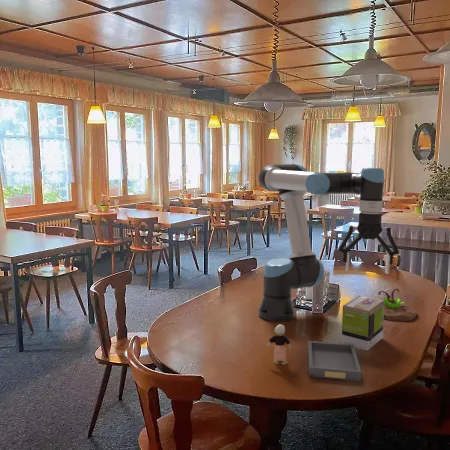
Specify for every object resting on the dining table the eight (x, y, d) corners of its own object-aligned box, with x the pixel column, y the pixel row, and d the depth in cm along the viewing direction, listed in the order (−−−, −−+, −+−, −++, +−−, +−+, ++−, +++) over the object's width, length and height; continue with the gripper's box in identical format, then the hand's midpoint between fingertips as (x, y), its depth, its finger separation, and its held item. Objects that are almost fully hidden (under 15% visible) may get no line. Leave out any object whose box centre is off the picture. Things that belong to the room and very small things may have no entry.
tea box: (357, 331, 171) (359, 294, 169) (383, 338, 165) (386, 300, 162) (340, 344, 159) (342, 304, 157) (367, 351, 153) (370, 310, 151)
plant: (419, 324, 181) (421, 297, 179) (368, 318, 186) (370, 292, 184) (412, 308, 200) (414, 284, 198) (366, 304, 205) (368, 280, 203)
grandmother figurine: (290, 360, 146) (291, 322, 144) (291, 365, 142) (292, 327, 140) (266, 359, 146) (267, 322, 144) (267, 364, 142) (268, 326, 141)
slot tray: (309, 377, 135) (309, 368, 134) (308, 349, 154) (308, 341, 154) (360, 382, 132) (361, 372, 132) (352, 352, 152) (353, 344, 152)
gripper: (334, 212, 153) (331, 272, 156) (410, 215, 149) (406, 276, 152) (332, 210, 161) (330, 267, 164) (405, 212, 157) (401, 271, 160)
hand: (366, 272), depth 158 cm, fingers open, 13 cm apart
